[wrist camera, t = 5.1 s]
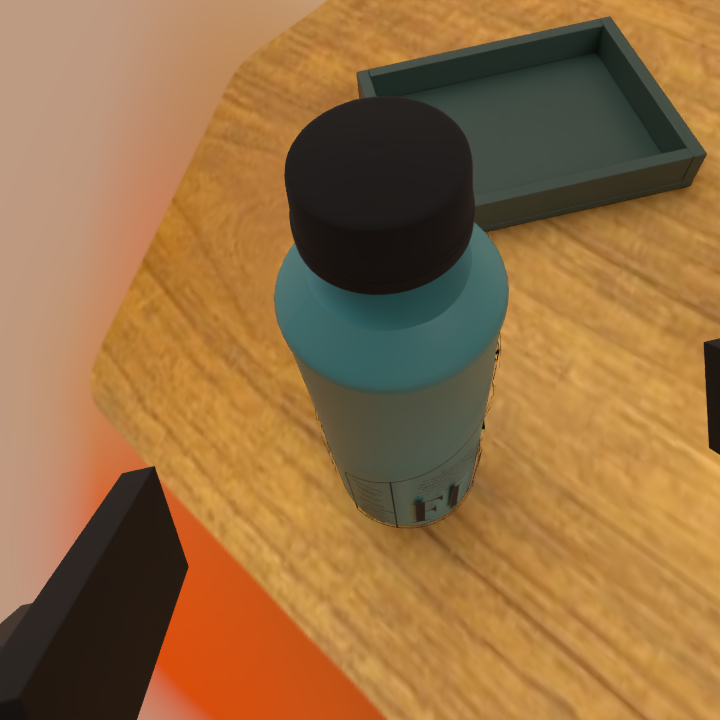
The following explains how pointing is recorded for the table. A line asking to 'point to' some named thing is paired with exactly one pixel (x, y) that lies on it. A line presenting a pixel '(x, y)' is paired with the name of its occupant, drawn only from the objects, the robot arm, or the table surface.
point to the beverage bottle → (392, 302)
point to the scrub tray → (552, 120)
